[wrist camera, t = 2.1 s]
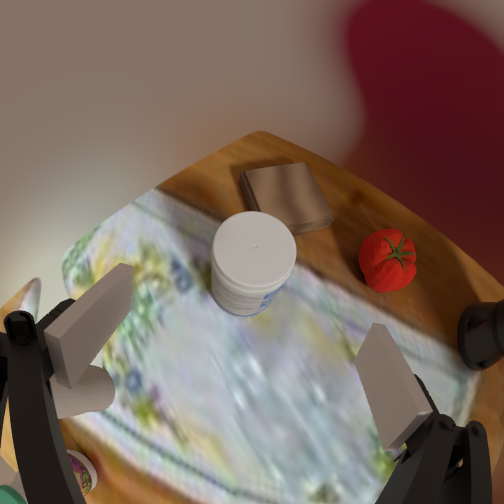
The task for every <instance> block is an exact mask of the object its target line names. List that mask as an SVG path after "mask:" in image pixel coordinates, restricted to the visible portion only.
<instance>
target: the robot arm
mask: <svg viewBox="0 0 504 504" xmlns="http://www.w3.org/2000/svg"><path fill="white" fill-rule="evenodd" d="M132 275H133V266H130V265H127V264H124V263H119V264H118V265H117V266H116V267H115V268H113V269H112V270H111V271H110V272H109V273H107V274H106V275H105V276H104V277H103V278H101V279H100V280H99V281H98V282H97V283H96V284H94V285H93V286H92V287H91V288H90V289H89V290H88V291H86V292H85V293H84V294H83V295H82V296H81V297H80V298H79V299H77V300H73V299H71V298H70V299H67V300H65V301H62V302H60V303H59V304H58V305H57V306H56V307H55V308H54V309H52V310H51V311H50V312H49V314H47V315H46V316H44V317H43V318H42V319H41V320H40V321H39V322H38V323H37V324H35V322H34V318H33V316H32V315H31V314H30V313H29V312H26V311H21V310H19V311H14V312H11V313H9V314H8V315H7V316H6V317H5V319H4V325H5V329H6V333H7V334H6V333H2V332H0V447H1V437H2V429H3V421H4V415H5V409H6V403H7V398H8V399H9V412H10V422H11V430H12V437H13V443H14V449H15V455H16V460H17V464H18V469H19V473H20V477H21V481H22V485H23V489H24V492H25V496H26V499H27V502H28V504H87V503H86V501H85V499H84V496H83V494H82V492H81V489H80V487H79V484H78V482H77V479H76V476H75V474H74V471H73V468H72V465H71V462H70V459H69V456H68V453H67V450H66V447H65V443H64V440H63V436H62V433H61V429H60V425H59V421H58V417H57V412H56V408H55V403H54V398H53V393H52V387H51V383H50V378H51V377H52V375H53V374H54V375H55V378H56V382H57V383H58V384H60V385H62V386H64V387H66V388H68V389H70V390H72V389H73V387H74V386H75V385H76V383H77V382H78V380H79V379H80V377H81V376H82V375H83V373H84V372H85V370H86V369H87V368H88V366H89V365H90V363H91V362H92V361H93V359H94V358H95V357H96V355H97V353H99V351H100V350H101V349H102V347H103V346H104V345H105V343H106V342H107V341H108V339H109V338H110V337H111V335H112V334H113V333H114V331H115V330H116V329H117V327H118V326H119V325H120V324H121V322H122V321H123V320H124V318H125V317H126V316H127V315H128V313H129V312H130V311H131V293H132ZM458 343H459V349H460V353H461V356H462V358H463V360H464V362H465V364H466V365H467V366H468V367H469V368H470V369H472V370H474V371H479V370H484V369H487V368H489V367H491V366H492V365H494V364H495V363H497V362H498V361H499V360H501V359H502V358H504V299H503V300H501V301H499V302H478V303H475V304H473V305H471V306H469V307H467V308H466V309H465V311H464V312H463V314H462V316H461V319H460V322H459V328H458ZM354 363H355V366H356V368H357V371H358V374H359V377H360V380H361V382H362V385H363V388H364V391H365V394H366V397H367V400H368V403H369V406H370V409H371V412H372V415H373V418H374V421H375V424H376V427H377V430H378V433H379V436H380V440H381V443H382V446H383V449H384V451H391V450H398V449H399V448H400V447H401V446H402V445H403V444H404V443H406V446H407V448H406V449H405V450H404V451H403V452H402V453H401V454H400V455H399V456H398V457H397V458H396V459H395V460H394V462H396V461H397V460H398V459H399V461H398V463H397V465H396V467H395V469H394V471H393V473H392V475H391V477H390V478H389V480H388V482H387V484H386V486H385V487H384V489H383V491H382V493H381V494H380V496H379V498H378V499H377V501H376V503H375V504H492V481H491V466H490V456H489V448H488V441H487V434H486V430H485V428H484V427H483V425H482V424H481V423H480V422H477V421H470V422H469V423H468V424H467V425H466V426H465V428H464V427H459V426H456V424H455V422H454V421H453V419H452V418H450V417H449V416H447V415H445V414H440V413H439V411H438V409H437V408H436V406H435V404H434V402H433V400H432V398H431V396H430V395H429V393H428V391H427V390H426V387H425V385H424V384H423V382H422V380H421V379H420V378H419V377H418V376H417V375H416V374H413V372H412V371H411V369H410V367H409V365H408V364H407V362H406V360H405V358H404V357H403V355H402V353H401V351H400V350H399V348H398V346H397V345H396V343H395V341H394V340H393V338H392V336H391V335H390V333H389V331H388V330H387V328H386V326H385V325H383V324H378V323H373V325H372V327H371V329H370V331H369V333H368V335H367V337H366V338H365V340H364V342H363V344H362V346H361V348H360V350H359V352H358V354H357V355H356V357H355V359H354ZM462 460H463V464H462V466H460V467H459V462H460V461H462Z"/></svg>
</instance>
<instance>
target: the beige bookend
mask: <svg viewBox="0 0 504 504" xmlns="http://www.w3.org/2000/svg"><path fill="white" fill-rule="evenodd" d="M50 383H51V387H52V393H53V398H54V403H55V408H56V412H57V417H58V419H62V418H67V417H71V416H76V415H80V414H83V413H86V412H96V411H102V410H105V409H106V408H108V407H109V406H110V405H111V404H112V402H113V400H114V397H115V387H114V383H113V381H112V379H111V377H110V376H109V374H108V373H107V372H106V371H105V370H103V369H102V368H100V367H97V366H93V365H89V366H88V368H87V369H86V370H85V372H84V373H83V375H82V376H81V377H80V379H79V380H78V382H77V383H76V385H75V386H74V387H73V389H72V390H70V389H68V388H66V387H64V386H62V385H60V384H58V383H57V382H56V378H55V375H54V374H53V375H52V377H51V378H50Z"/></svg>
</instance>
